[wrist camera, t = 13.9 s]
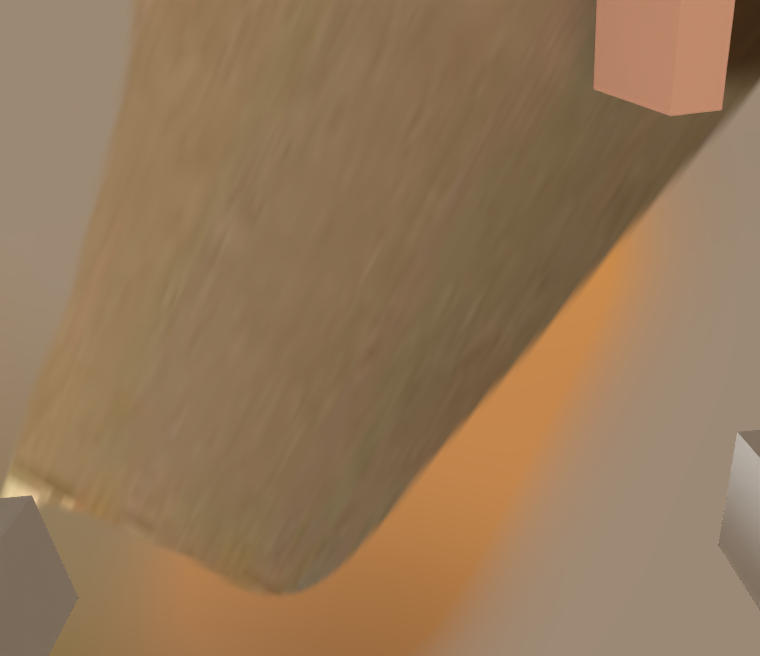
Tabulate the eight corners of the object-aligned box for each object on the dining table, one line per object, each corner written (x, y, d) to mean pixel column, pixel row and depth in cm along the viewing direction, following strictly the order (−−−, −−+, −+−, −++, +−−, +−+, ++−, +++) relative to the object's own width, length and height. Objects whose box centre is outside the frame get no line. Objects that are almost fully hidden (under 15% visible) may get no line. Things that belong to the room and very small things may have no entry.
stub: (631, 84, 34) (721, 110, 25) (593, 89, 34) (670, 115, 25) (640, -68, 31) (747, -101, 22) (599, -63, 31) (688, -94, 22)
